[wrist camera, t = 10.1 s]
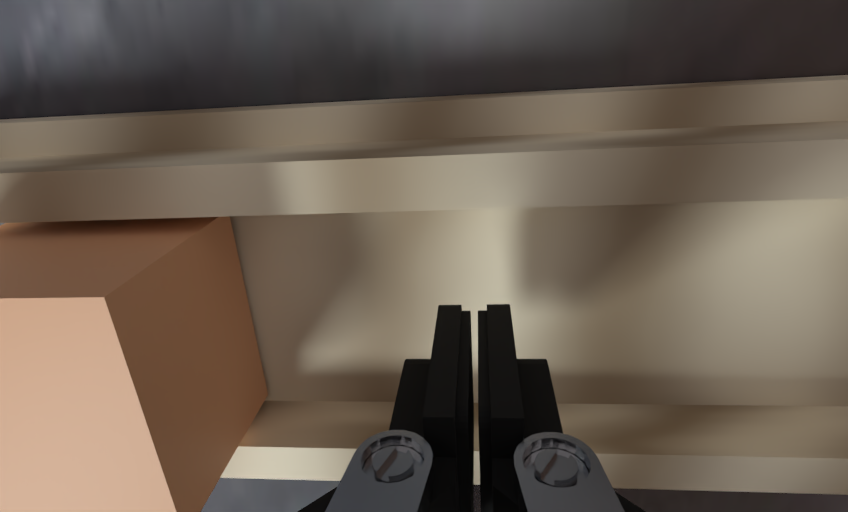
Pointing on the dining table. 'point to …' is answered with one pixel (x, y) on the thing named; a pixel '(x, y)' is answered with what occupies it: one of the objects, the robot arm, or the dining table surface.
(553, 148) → the chute
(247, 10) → the dining table surface
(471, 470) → the robot arm
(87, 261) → the block
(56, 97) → the dining table surface
